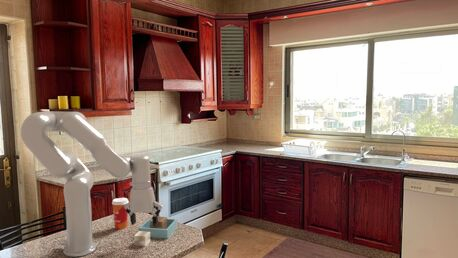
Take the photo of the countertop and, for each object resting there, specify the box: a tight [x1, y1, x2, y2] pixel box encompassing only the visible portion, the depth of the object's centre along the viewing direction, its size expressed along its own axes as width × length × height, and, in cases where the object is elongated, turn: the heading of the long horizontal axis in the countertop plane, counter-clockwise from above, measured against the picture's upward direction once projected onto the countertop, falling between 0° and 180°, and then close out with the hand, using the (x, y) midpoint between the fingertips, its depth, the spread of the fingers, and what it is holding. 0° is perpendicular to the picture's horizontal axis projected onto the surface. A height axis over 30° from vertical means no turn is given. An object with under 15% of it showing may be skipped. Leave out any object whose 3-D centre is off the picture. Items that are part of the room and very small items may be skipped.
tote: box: [138, 216, 178, 239], centre depth 159 cm, size 14×14×4 cm
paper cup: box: [111, 197, 130, 230], centre depth 164 cm, size 8×8×14 cm
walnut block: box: [150, 216, 168, 229], centre depth 159 cm, size 6×6×6 cm
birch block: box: [133, 230, 151, 247], centre depth 146 cm, size 5×5×5 cm
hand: (144, 224), depth 145 cm, fingers open, 9 cm apart
